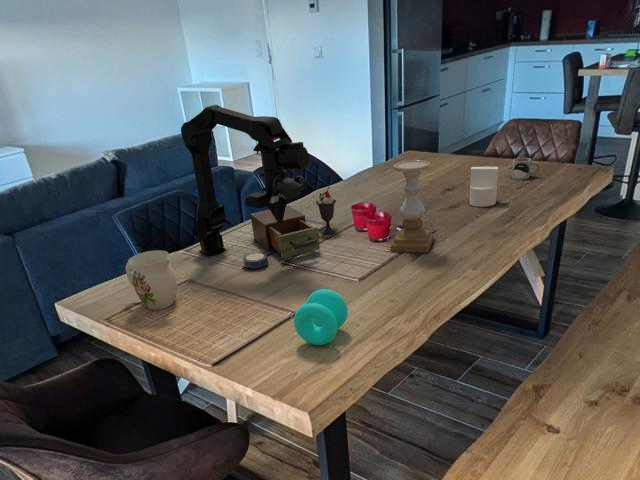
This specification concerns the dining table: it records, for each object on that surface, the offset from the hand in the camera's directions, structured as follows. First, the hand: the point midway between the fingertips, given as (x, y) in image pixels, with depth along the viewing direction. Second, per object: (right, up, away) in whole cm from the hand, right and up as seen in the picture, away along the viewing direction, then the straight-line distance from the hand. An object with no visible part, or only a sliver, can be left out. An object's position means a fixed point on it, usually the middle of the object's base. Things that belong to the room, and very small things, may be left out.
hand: (280, 223), depth 163 cm
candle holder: (+40, -5, +8) cm, 41 cm away
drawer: (+4, -6, +11) cm, 13 cm away
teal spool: (+12, -34, -34) cm, 50 cm away
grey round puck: (-7, -11, +6) cm, 15 cm away
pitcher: (-32, -24, -11) cm, 42 cm away
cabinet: (-1, 0, +23) cm, 23 cm away
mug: (+92, +32, +58) cm, 113 cm away
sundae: (+14, +3, +26) cm, 29 cm away
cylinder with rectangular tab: (+69, +16, +36) cm, 79 cm away
